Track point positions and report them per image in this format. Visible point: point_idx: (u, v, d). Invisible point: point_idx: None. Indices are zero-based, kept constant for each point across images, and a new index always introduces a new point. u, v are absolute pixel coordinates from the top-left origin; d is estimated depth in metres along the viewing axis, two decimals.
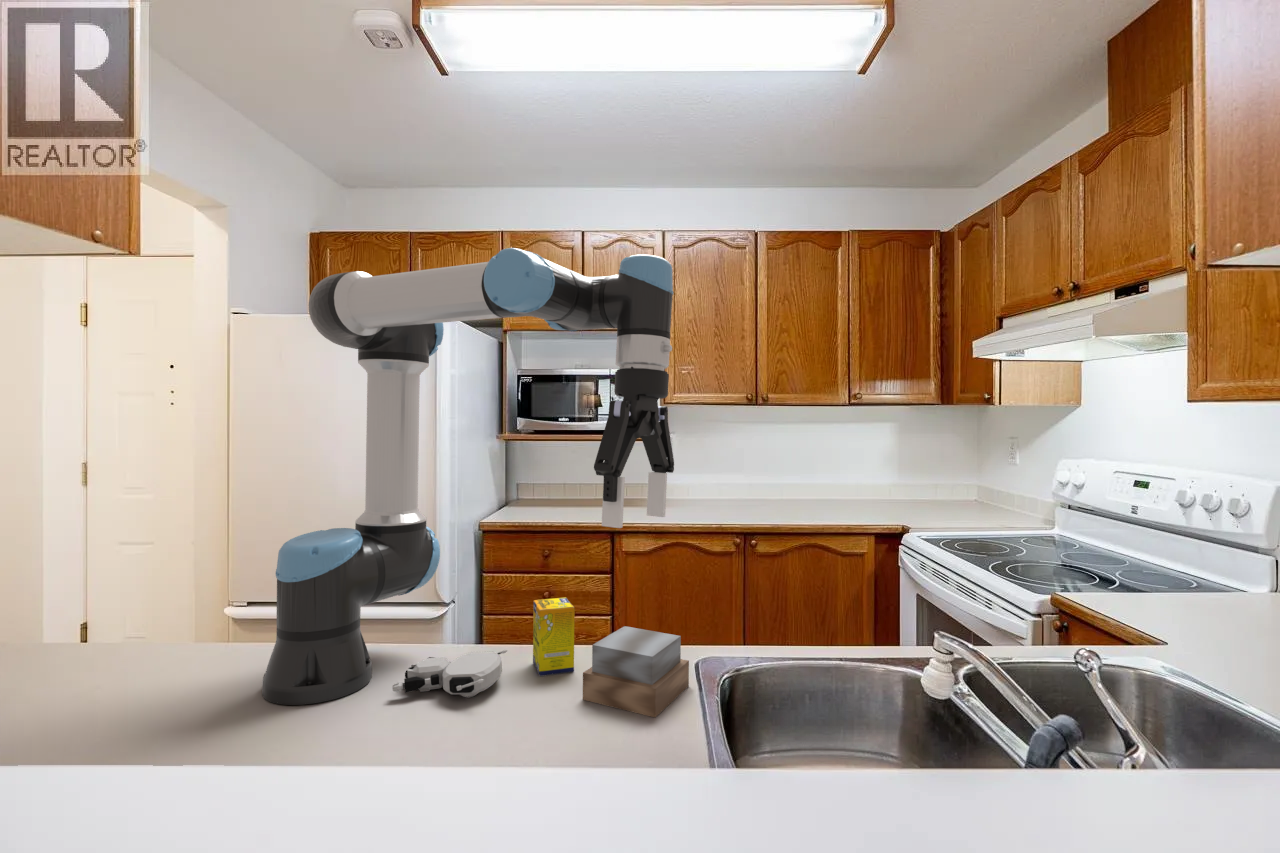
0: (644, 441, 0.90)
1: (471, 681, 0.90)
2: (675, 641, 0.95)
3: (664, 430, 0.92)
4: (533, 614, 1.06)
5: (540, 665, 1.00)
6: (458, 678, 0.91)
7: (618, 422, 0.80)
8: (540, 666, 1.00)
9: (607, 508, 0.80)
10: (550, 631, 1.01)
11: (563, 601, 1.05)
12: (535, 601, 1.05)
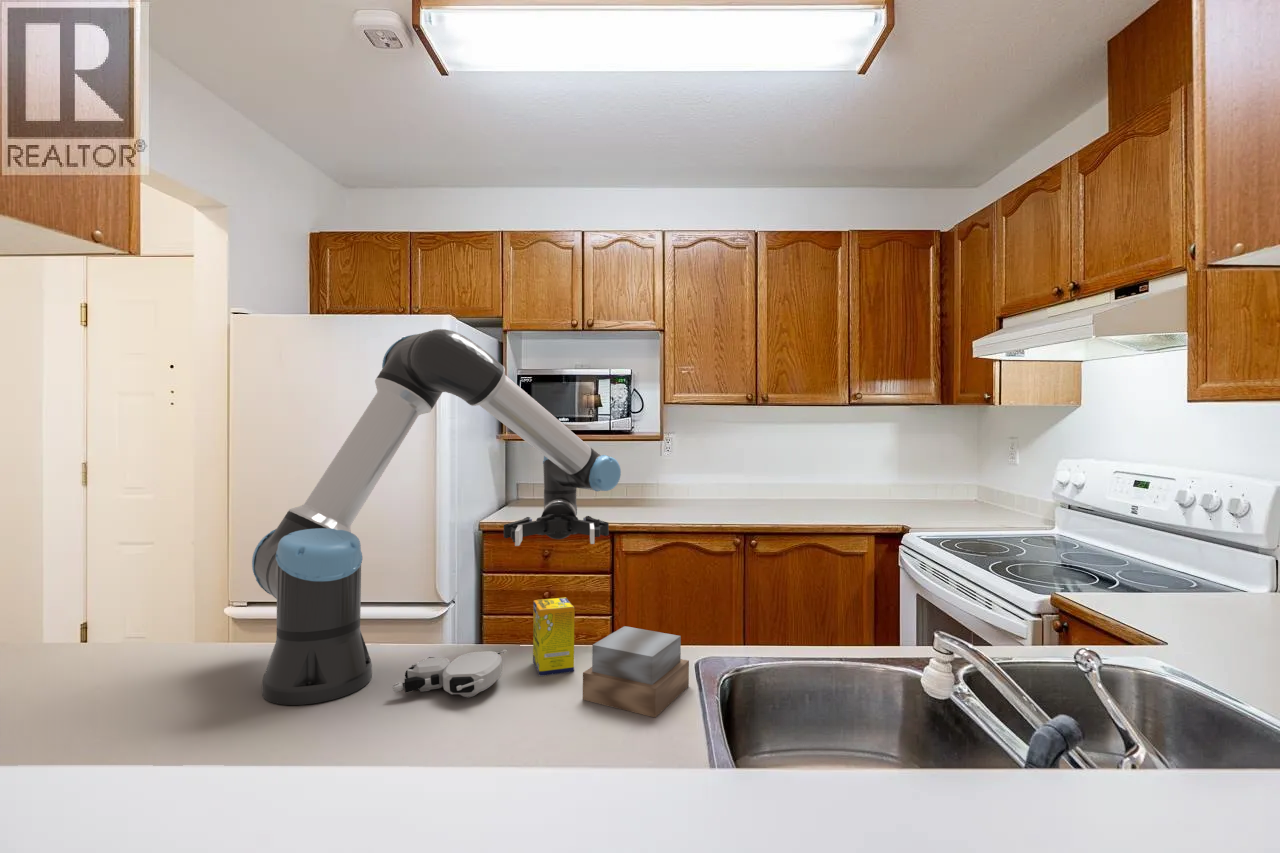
0: (538, 522, 1.23)
1: (471, 681, 0.90)
2: (675, 641, 0.95)
3: None
4: (533, 614, 1.06)
5: (540, 665, 1.00)
6: (458, 678, 0.91)
7: None
8: (540, 666, 1.00)
9: None
10: (550, 631, 1.01)
11: (563, 601, 1.05)
12: (535, 601, 1.05)
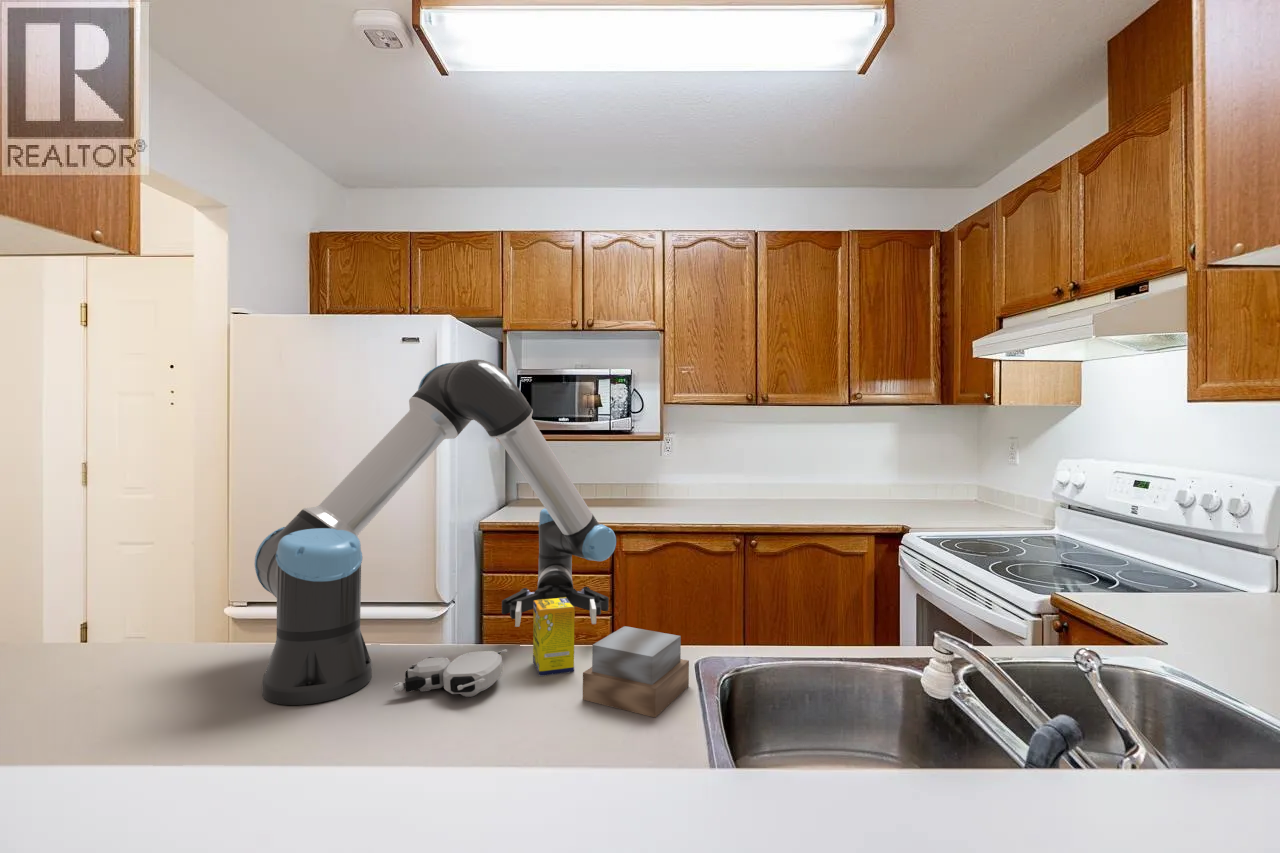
0: (537, 596, 1.21)
1: (472, 680, 0.90)
2: (675, 641, 0.95)
3: None
4: (533, 614, 1.06)
5: (540, 665, 1.00)
6: (459, 678, 0.91)
7: None
8: (540, 666, 1.00)
9: None
10: (550, 631, 1.01)
11: (563, 601, 1.05)
12: (535, 601, 1.05)
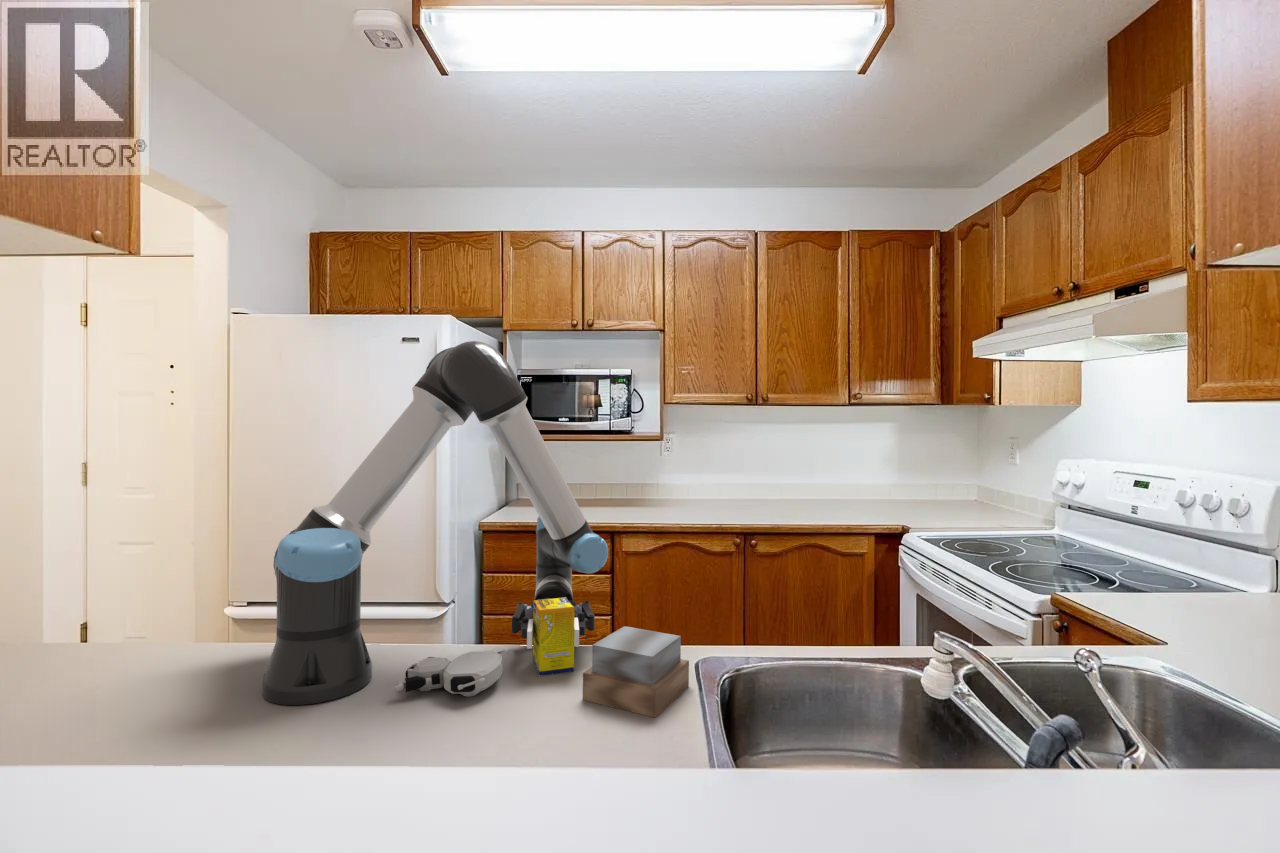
0: None
1: (472, 680, 0.90)
2: (675, 641, 0.95)
3: None
4: (533, 614, 1.06)
5: (540, 665, 1.00)
6: (459, 677, 0.91)
7: None
8: (540, 666, 1.00)
9: None
10: (550, 631, 1.01)
11: (562, 601, 1.05)
12: (535, 601, 1.05)
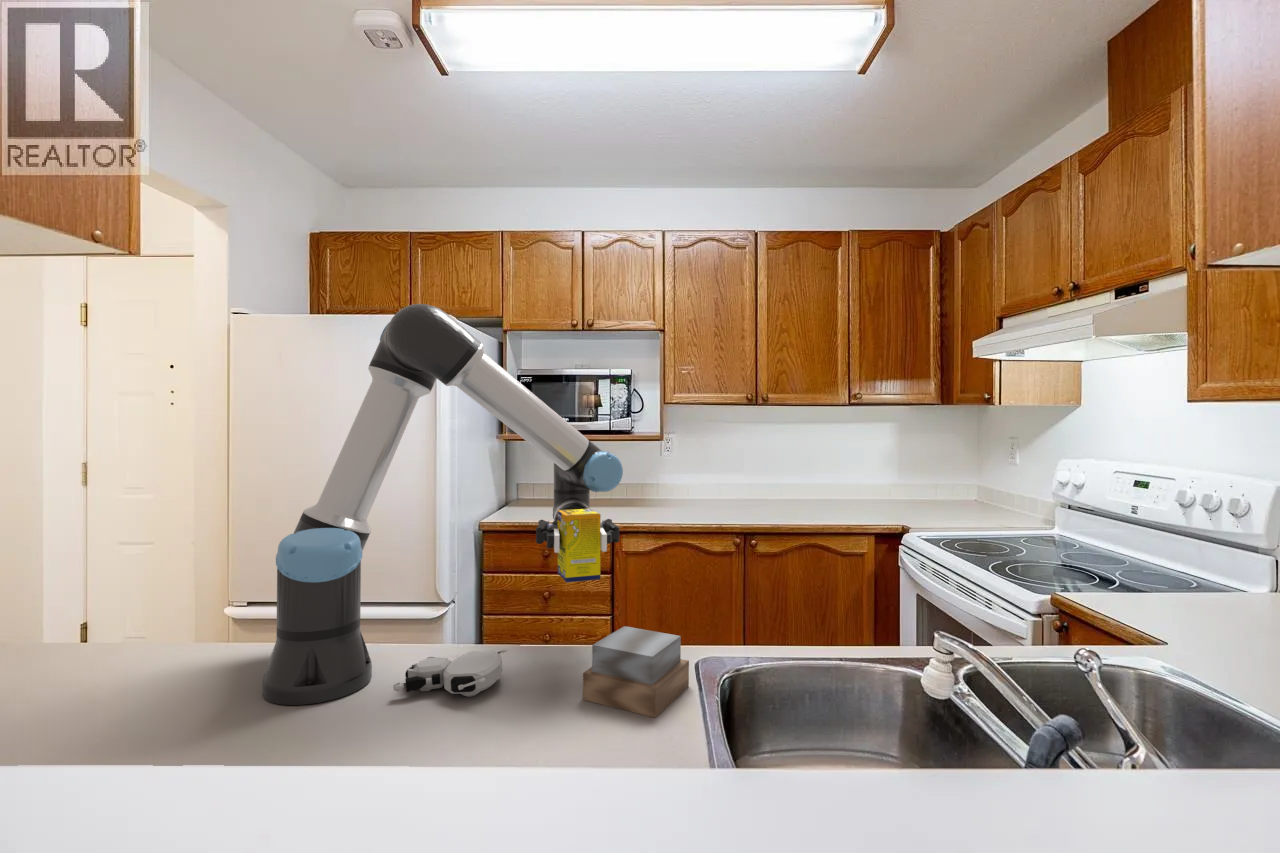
0: None
1: (473, 680, 0.90)
2: (675, 641, 0.95)
3: None
4: None
5: (567, 571, 0.99)
6: (459, 677, 0.91)
7: None
8: (567, 572, 0.99)
9: None
10: (576, 537, 0.99)
11: (587, 510, 1.03)
12: (559, 511, 1.04)
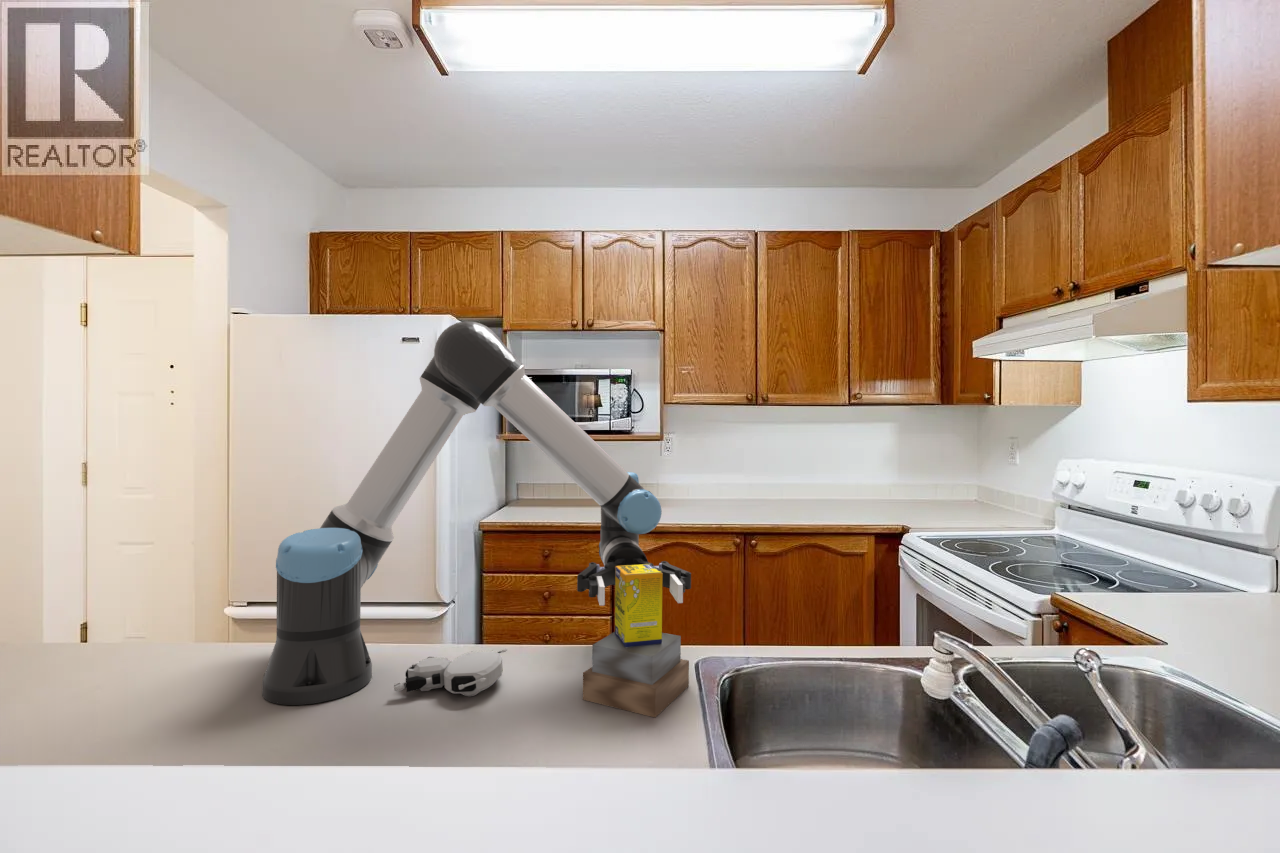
0: (613, 571, 1.02)
1: (473, 680, 0.91)
2: (675, 641, 0.95)
3: None
4: (615, 581, 0.96)
5: (626, 635, 0.91)
6: (460, 677, 0.91)
7: None
8: (626, 637, 0.91)
9: None
10: (636, 598, 0.91)
11: (648, 567, 0.95)
12: (617, 567, 0.96)
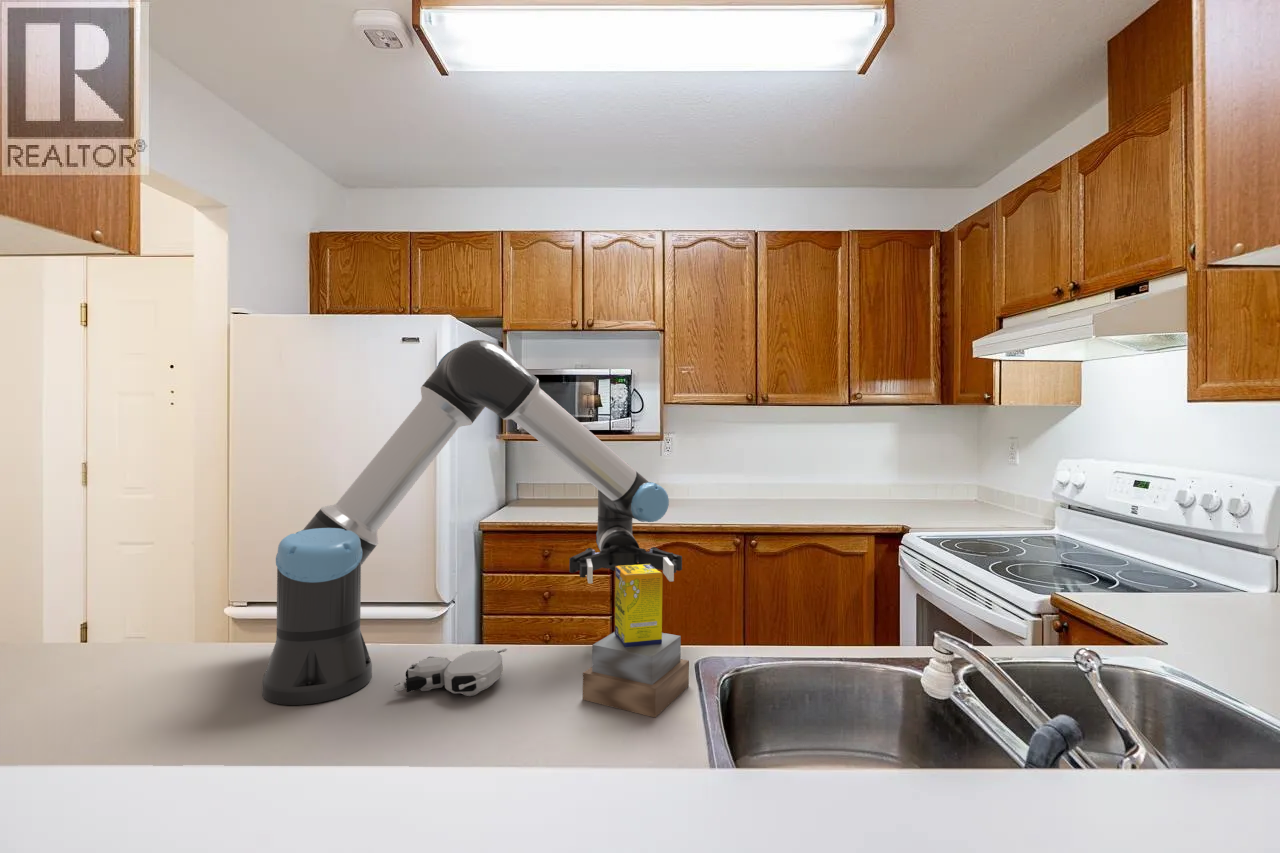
0: (604, 555, 1.14)
1: (473, 680, 0.91)
2: (675, 641, 0.95)
3: None
4: (615, 581, 0.96)
5: (626, 636, 0.91)
6: (460, 677, 0.91)
7: None
8: (626, 637, 0.91)
9: None
10: (636, 599, 0.91)
11: (648, 567, 0.95)
12: (617, 567, 0.96)
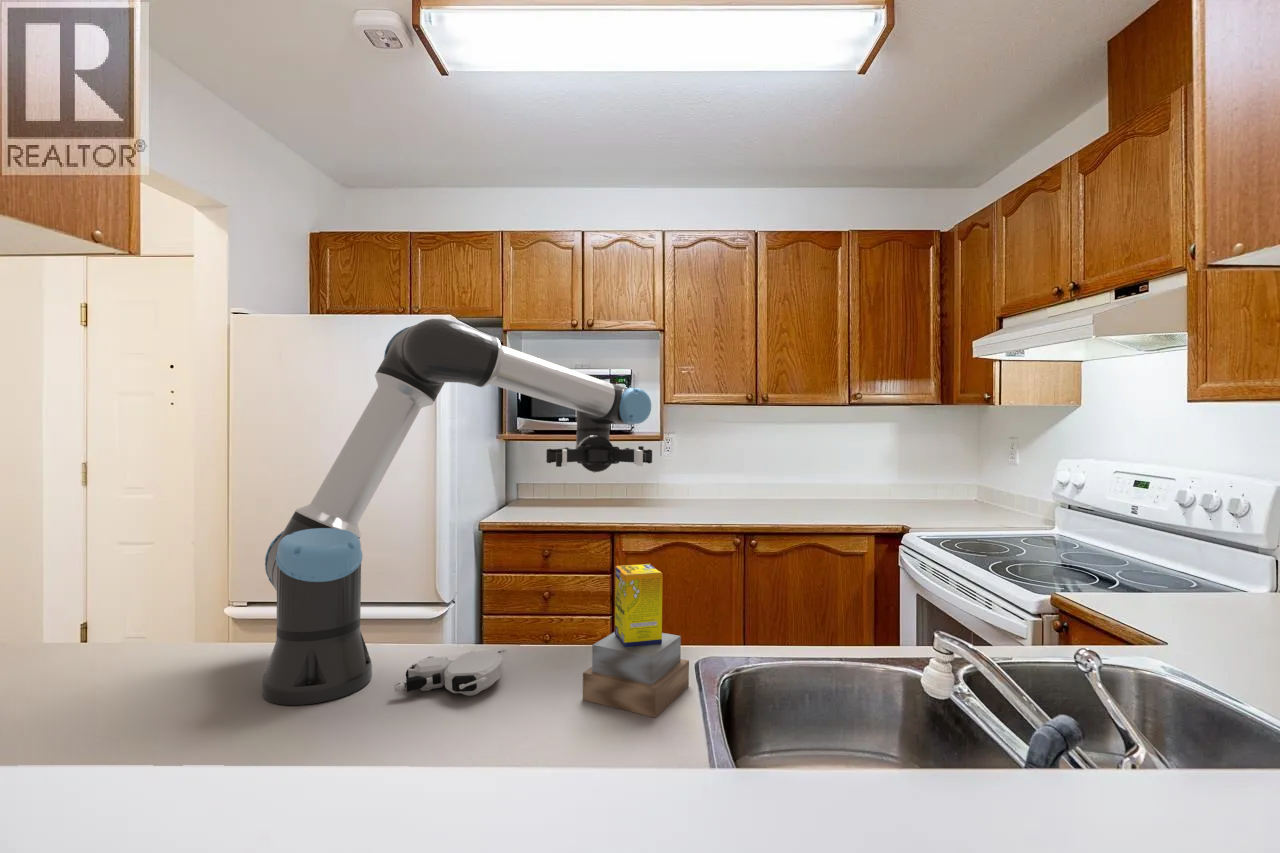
0: (580, 450, 1.21)
1: (474, 679, 0.91)
2: (675, 641, 0.95)
3: None
4: (615, 581, 0.96)
5: (626, 636, 0.91)
6: (461, 677, 0.91)
7: None
8: (626, 637, 0.91)
9: None
10: (636, 599, 0.91)
11: (648, 567, 0.95)
12: (617, 567, 0.96)
